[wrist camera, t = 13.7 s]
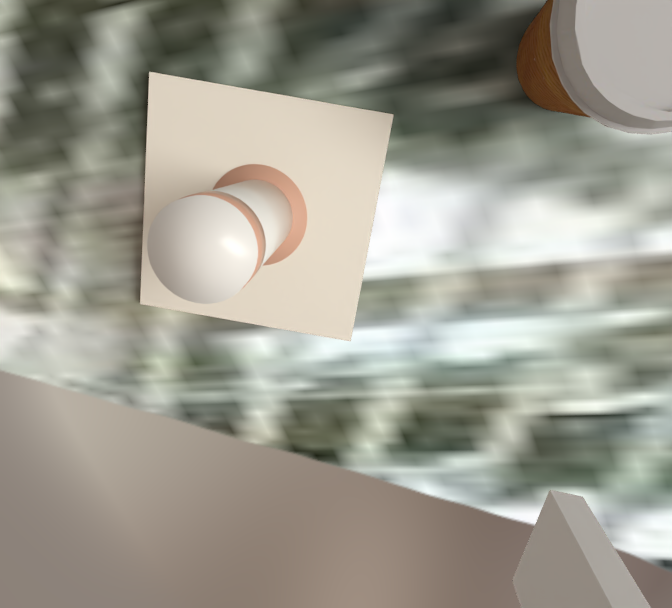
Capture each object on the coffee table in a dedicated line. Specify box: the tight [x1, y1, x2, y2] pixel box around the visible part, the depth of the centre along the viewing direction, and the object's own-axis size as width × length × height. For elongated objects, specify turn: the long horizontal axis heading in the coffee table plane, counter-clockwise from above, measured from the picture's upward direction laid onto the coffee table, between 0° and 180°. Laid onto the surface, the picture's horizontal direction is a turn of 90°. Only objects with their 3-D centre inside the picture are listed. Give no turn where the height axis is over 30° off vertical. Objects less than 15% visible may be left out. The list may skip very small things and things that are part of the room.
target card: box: [140, 72, 394, 341], centre depth 34 cm, size 16×16×1 cm
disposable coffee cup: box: [517, 0, 672, 134], centre depth 24 cm, size 10×10×12 cm
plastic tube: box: [147, 179, 293, 304], centre depth 28 cm, size 5×5×12 cm
